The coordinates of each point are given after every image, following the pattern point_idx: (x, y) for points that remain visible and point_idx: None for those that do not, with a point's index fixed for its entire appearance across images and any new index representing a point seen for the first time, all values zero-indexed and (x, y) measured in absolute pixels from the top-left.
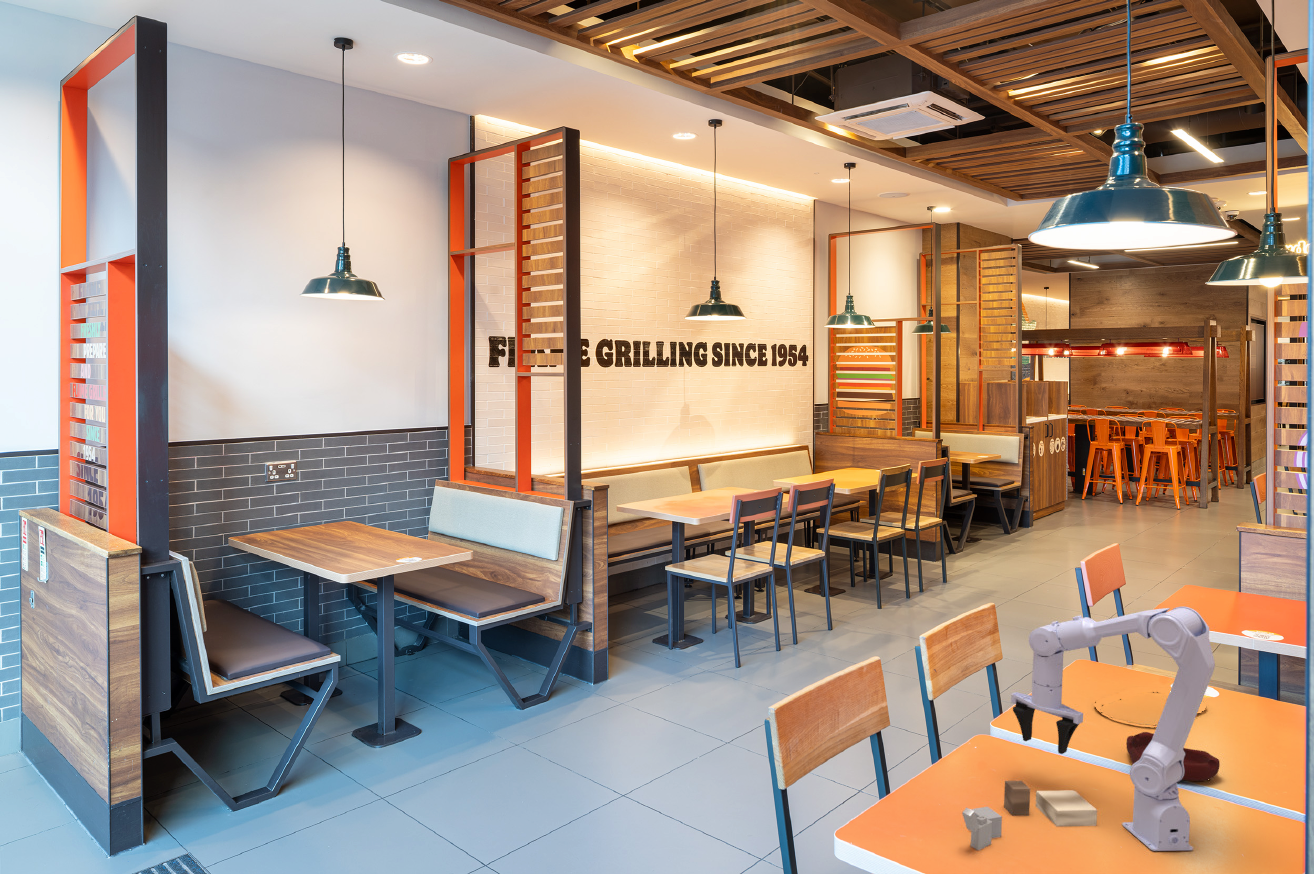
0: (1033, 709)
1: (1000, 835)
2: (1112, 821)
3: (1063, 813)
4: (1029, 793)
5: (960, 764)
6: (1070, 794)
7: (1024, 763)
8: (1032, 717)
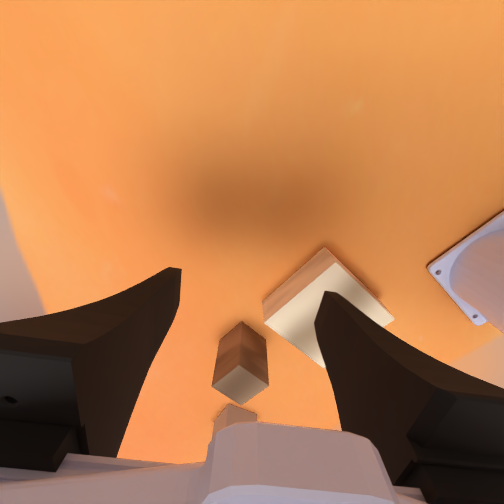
0: (102, 359)
1: (255, 416)
2: (406, 261)
3: None
4: (267, 377)
5: (43, 226)
6: (332, 288)
7: (138, 75)
8: (135, 321)
